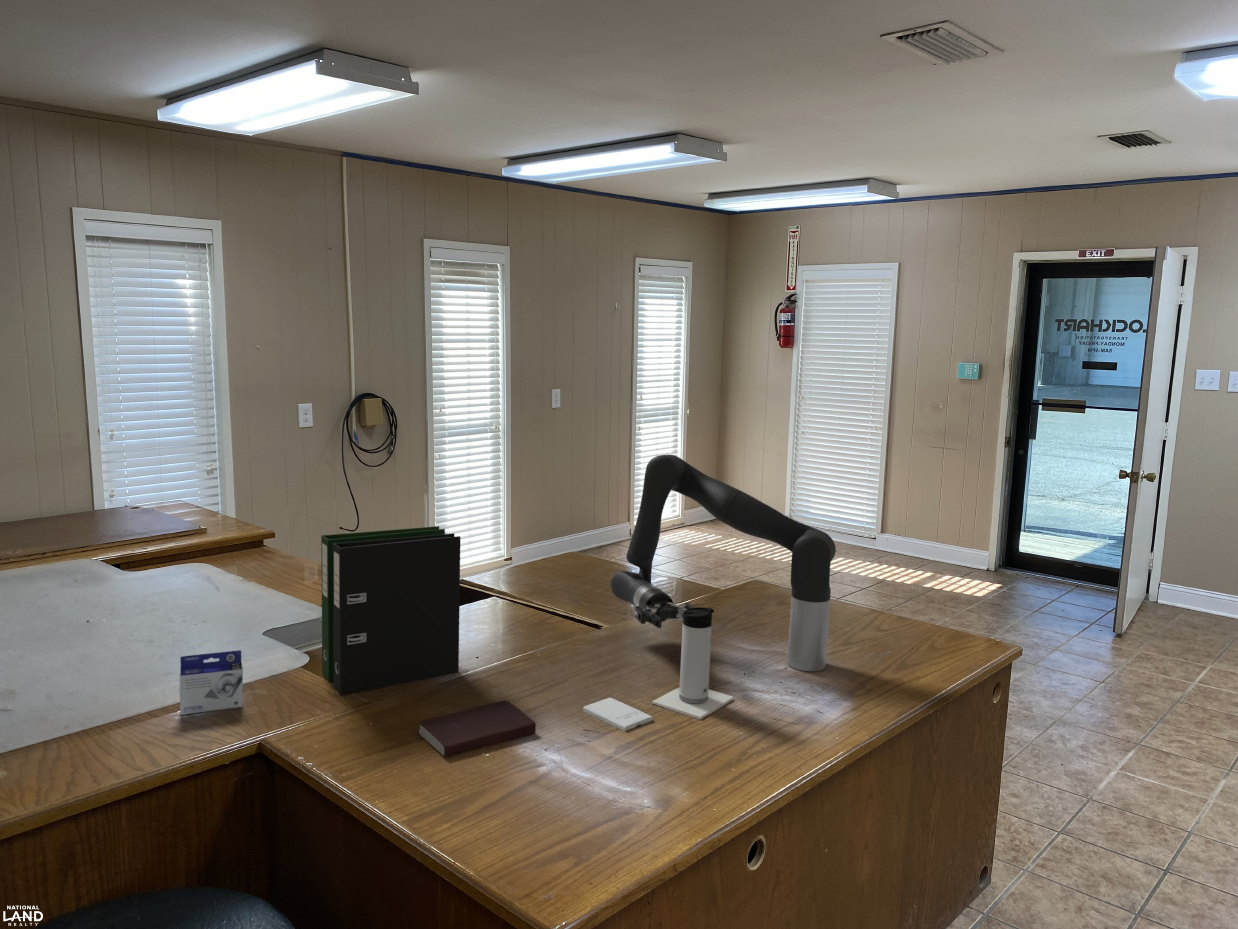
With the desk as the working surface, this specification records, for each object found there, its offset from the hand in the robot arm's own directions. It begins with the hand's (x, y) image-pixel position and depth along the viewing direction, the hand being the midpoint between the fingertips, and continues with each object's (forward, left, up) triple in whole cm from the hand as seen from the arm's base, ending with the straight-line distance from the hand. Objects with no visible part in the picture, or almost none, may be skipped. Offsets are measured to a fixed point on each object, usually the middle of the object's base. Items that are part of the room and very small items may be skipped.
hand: (677, 622), depth 193 cm
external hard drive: (+23, +1, -15) cm, 28 cm away
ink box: (+75, -62, -15) cm, 99 cm away
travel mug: (+6, +9, -14) cm, 18 cm away
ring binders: (+39, -51, -14) cm, 66 cm away
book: (+48, -15, -15) cm, 52 cm away
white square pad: (+6, +9, -14) cm, 18 cm away
